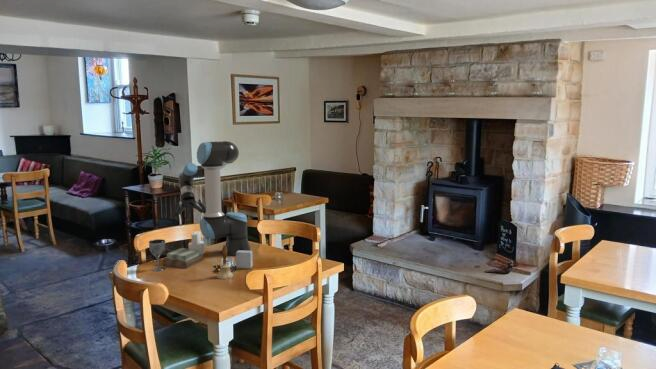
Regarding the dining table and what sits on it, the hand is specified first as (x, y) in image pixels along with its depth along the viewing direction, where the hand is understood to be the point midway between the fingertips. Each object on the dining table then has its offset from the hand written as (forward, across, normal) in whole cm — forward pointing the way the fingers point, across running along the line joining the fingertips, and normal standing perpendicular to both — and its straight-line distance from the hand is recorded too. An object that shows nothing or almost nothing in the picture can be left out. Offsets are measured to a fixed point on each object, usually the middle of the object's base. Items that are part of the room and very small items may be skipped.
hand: (192, 223), depth 300 cm
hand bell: (+51, -6, +30) cm, 60 cm away
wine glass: (+34, +24, +13) cm, 43 cm away
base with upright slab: (+18, 0, -3) cm, 19 cm away
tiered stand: (+29, +10, +8) cm, 32 cm away
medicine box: (+44, -18, +23) cm, 53 cm away
